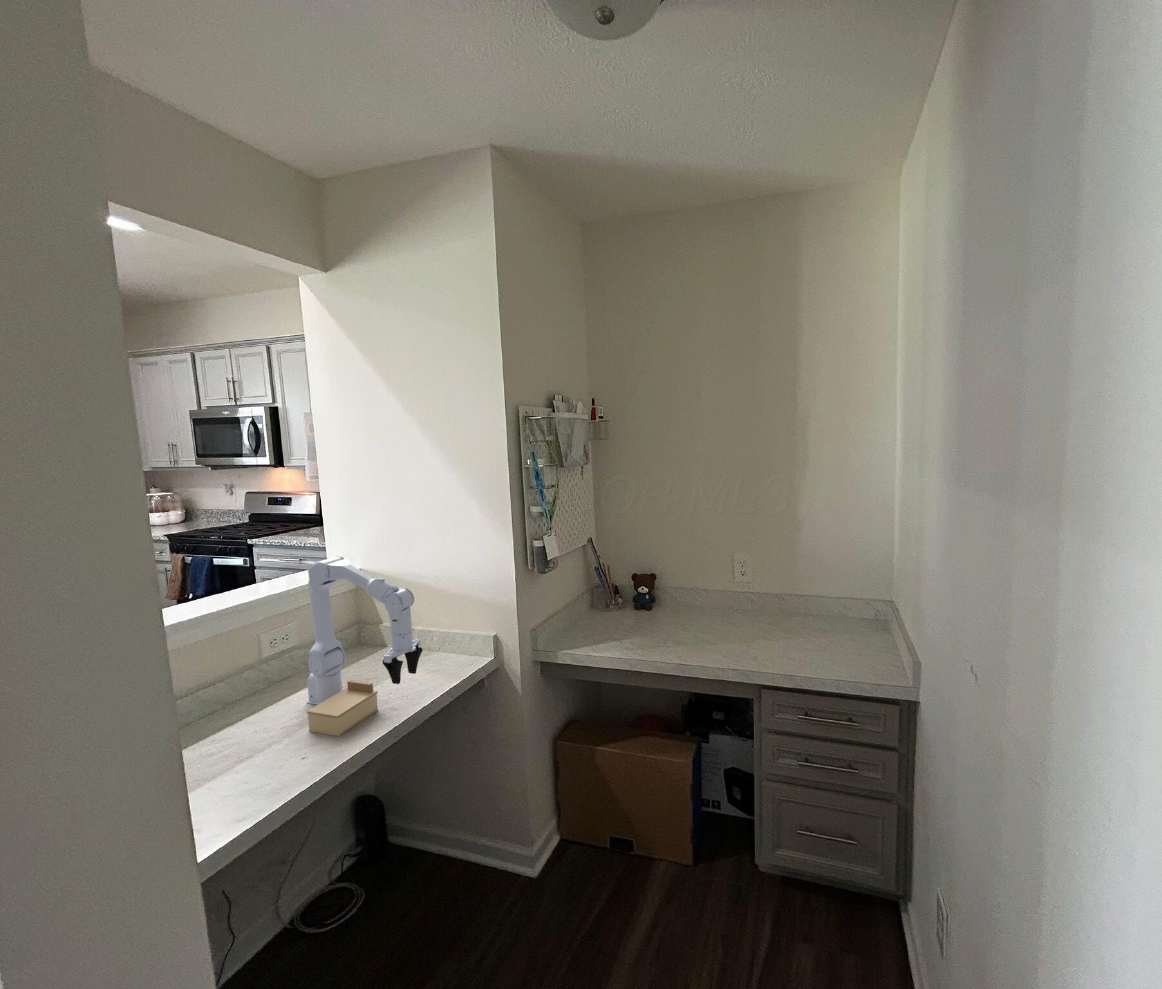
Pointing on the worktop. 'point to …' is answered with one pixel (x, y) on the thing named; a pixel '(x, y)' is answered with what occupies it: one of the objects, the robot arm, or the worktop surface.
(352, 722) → the lidded box
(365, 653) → the worktop surface
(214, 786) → the worktop surface
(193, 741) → the worktop surface
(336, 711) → the lid
